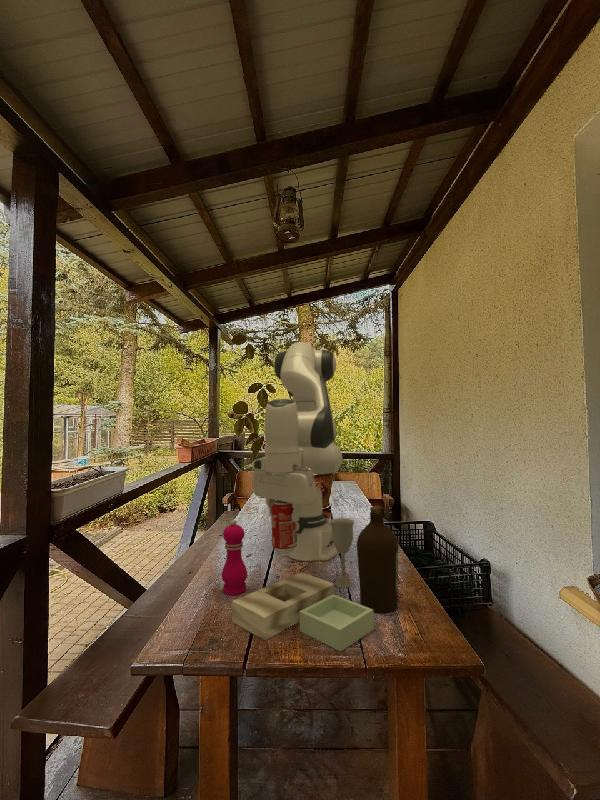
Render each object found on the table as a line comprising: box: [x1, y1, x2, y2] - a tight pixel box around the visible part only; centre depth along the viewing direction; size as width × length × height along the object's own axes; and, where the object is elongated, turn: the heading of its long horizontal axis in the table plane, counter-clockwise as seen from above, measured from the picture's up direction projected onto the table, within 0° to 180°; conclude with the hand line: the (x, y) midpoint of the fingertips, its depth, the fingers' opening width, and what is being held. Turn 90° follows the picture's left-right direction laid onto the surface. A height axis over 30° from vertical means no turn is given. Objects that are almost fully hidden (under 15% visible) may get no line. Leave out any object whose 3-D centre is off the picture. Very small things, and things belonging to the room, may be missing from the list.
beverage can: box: [270, 500, 297, 553], centre depth 106 cm, size 6×6×12 cm
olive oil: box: [356, 505, 399, 614], centre depth 109 cm, size 11×11×25 cm
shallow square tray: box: [299, 594, 375, 652], centre depth 97 cm, size 12×12×4 cm
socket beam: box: [231, 572, 336, 641], centre depth 106 cm, size 24×12×5 cm, turn 135°
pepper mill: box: [221, 519, 248, 596], centre depth 119 cm, size 7×7×20 cm
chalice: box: [329, 517, 355, 589], centre depth 122 cm, size 7×7×18 cm
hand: (283, 518), depth 106 cm, fingers closed on beverage can, 6 cm apart
